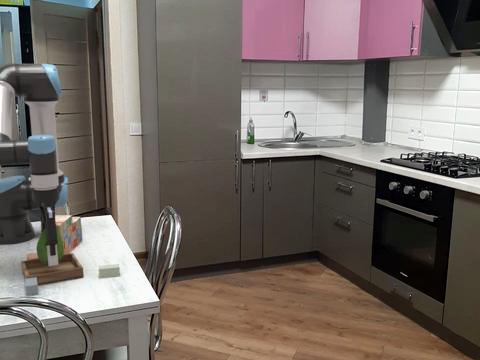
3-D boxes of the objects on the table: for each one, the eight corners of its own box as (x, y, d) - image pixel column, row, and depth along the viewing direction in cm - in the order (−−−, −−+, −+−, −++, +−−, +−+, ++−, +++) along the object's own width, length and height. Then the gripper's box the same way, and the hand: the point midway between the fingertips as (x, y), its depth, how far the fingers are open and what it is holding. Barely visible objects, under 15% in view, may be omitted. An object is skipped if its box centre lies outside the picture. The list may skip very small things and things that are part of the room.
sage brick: (99, 278, 147) (98, 269, 147) (99, 275, 150) (98, 265, 150) (119, 276, 149) (119, 267, 149) (119, 273, 152) (118, 263, 151)
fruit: (70, 263, 151) (67, 225, 149) (47, 271, 145) (44, 231, 143) (55, 258, 156) (52, 221, 154) (32, 265, 150) (28, 227, 148)
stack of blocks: (66, 240, 184) (63, 208, 182) (82, 240, 184) (80, 208, 182) (43, 260, 163) (40, 224, 161) (62, 260, 163) (59, 224, 161)
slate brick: (26, 288, 140) (25, 278, 140) (37, 287, 142) (36, 277, 141) (26, 296, 135) (25, 286, 134) (38, 294, 136) (37, 284, 136)
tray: (21, 270, 154) (21, 261, 154) (73, 261, 162) (72, 253, 161) (27, 287, 141) (26, 277, 140) (83, 277, 148) (83, 267, 148)
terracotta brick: (27, 262, 162) (26, 254, 161) (36, 261, 163) (36, 252, 162) (29, 268, 156) (28, 259, 156) (39, 266, 158) (38, 257, 157)
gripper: (27, 183, 153) (33, 253, 158) (36, 195, 135) (42, 274, 140) (53, 180, 157) (58, 249, 161) (64, 192, 139) (70, 269, 143)
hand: (51, 260), depth 150 cm, fingers closed on fruit, 8 cm apart
